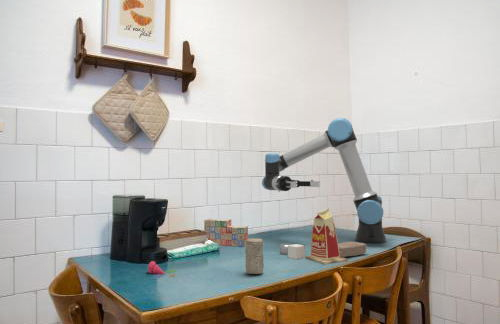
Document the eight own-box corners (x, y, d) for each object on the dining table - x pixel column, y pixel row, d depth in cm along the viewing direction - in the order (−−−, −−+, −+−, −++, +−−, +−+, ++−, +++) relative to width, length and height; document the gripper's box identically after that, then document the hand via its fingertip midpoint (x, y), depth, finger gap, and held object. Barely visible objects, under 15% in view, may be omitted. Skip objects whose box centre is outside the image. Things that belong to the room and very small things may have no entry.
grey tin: (287, 252, 168) (287, 243, 168) (293, 254, 163) (293, 245, 164) (277, 253, 166) (277, 244, 166) (284, 255, 161) (284, 246, 161)
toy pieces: (141, 279, 127) (141, 266, 127) (151, 270, 138) (151, 258, 138) (177, 279, 126) (177, 266, 127) (183, 270, 138) (183, 258, 138)
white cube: (296, 255, 161) (296, 244, 161) (304, 257, 157) (304, 245, 157) (287, 257, 158) (287, 245, 158) (296, 259, 154) (296, 247, 154)
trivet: (328, 255, 162) (328, 253, 162) (347, 260, 151) (347, 258, 151) (305, 258, 156) (305, 256, 156) (324, 264, 145) (323, 262, 145)
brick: (340, 257, 153) (341, 245, 153) (325, 253, 159) (325, 242, 160) (366, 254, 162) (367, 243, 162) (351, 251, 169) (351, 240, 169)
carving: (265, 271, 135) (265, 237, 136) (261, 277, 128) (261, 241, 128) (248, 270, 137) (248, 237, 137) (243, 275, 129) (243, 240, 130)
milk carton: (324, 254, 160) (323, 206, 160) (340, 258, 152) (340, 208, 153) (308, 256, 154) (308, 208, 155) (325, 261, 147) (324, 209, 148)
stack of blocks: (248, 245, 186) (248, 219, 186) (243, 247, 180) (243, 221, 180) (209, 242, 193) (209, 218, 194) (203, 244, 188) (203, 219, 188)
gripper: (302, 190, 196) (329, 192, 178) (260, 191, 185) (284, 193, 166) (302, 175, 197) (328, 176, 178) (260, 176, 185) (284, 176, 166)
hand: (307, 184), depth 172 cm, fingers open, 13 cm apart
